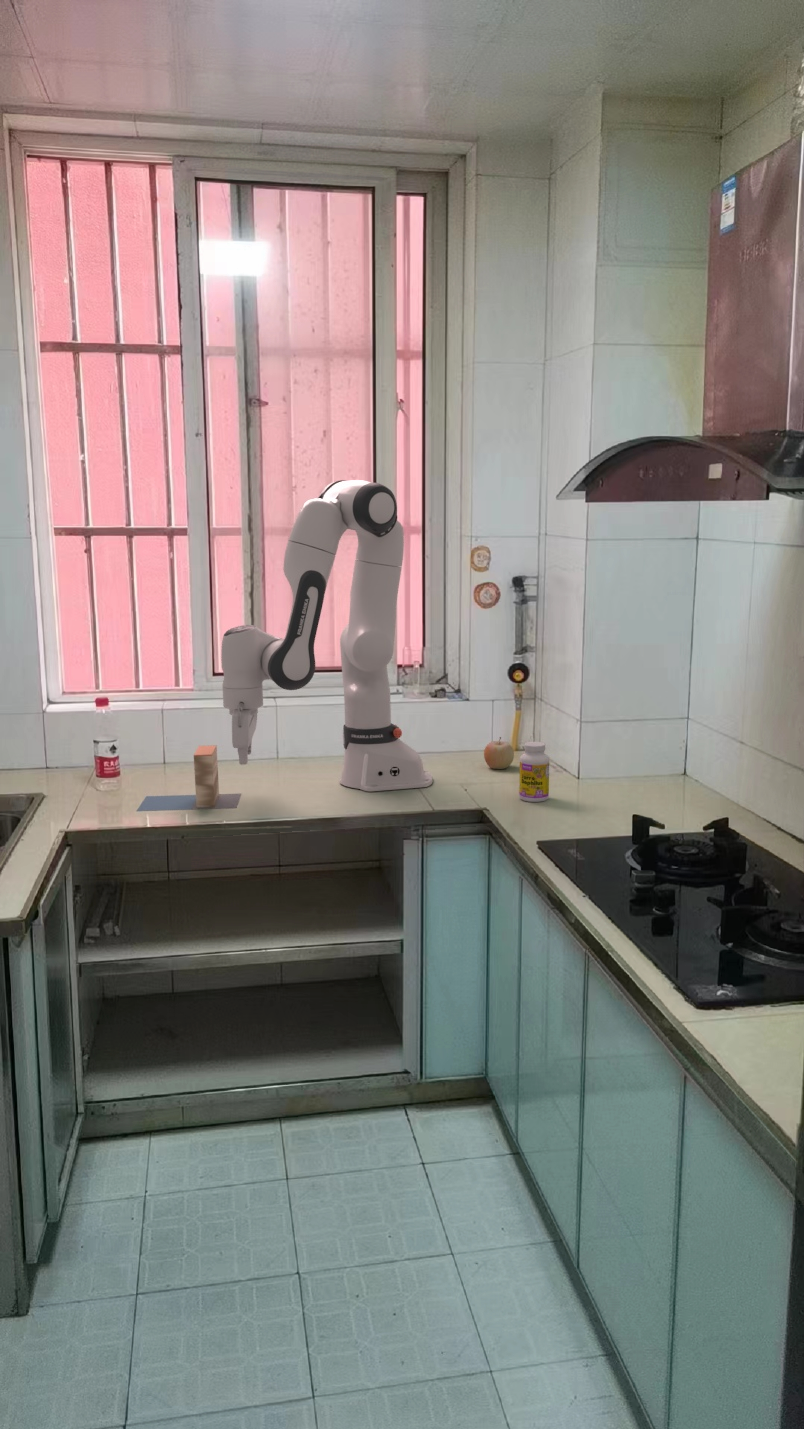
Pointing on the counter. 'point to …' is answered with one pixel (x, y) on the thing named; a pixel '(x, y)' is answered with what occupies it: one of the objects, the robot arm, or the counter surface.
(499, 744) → the fruit
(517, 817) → the counter surface
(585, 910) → the counter surface
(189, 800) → the rubber mat
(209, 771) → the wooden block
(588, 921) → the counter surface
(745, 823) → the counter surface
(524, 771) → the supplement bottle
